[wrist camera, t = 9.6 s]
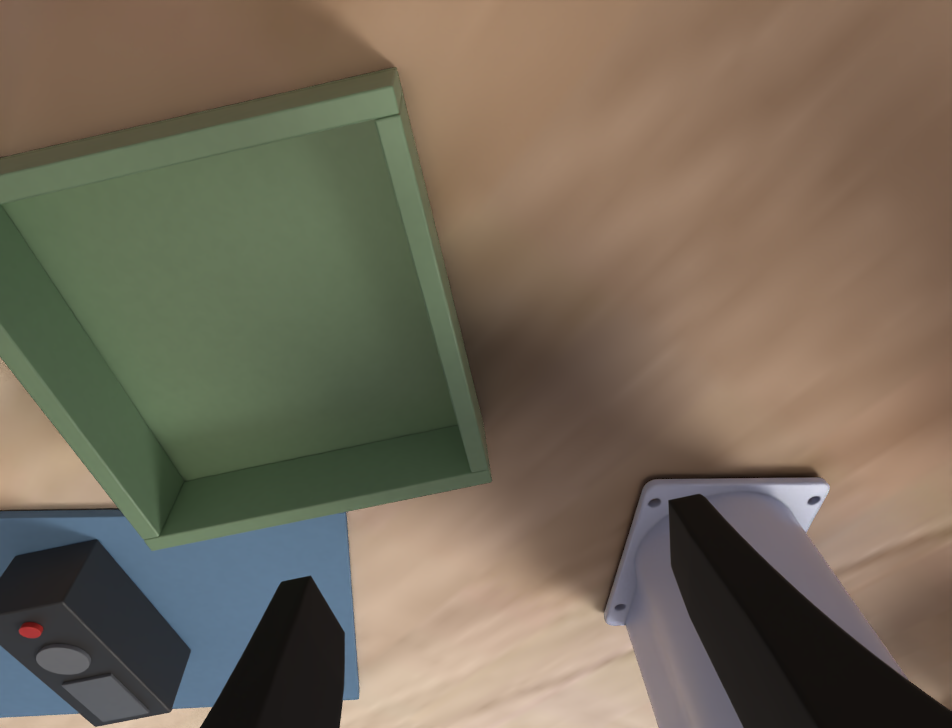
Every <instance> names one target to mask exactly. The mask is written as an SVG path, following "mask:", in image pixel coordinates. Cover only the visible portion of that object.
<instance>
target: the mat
mask: <svg viewBox="0 0 952 728" xmlns="http://www.w3.org/2000/svg"><path fill="white" fill-rule="evenodd" d="M91 540H98V541H99V542H100V543H101V544H102V545H103V547H104V548H105V549H106V550H107V551H108V553H109V554H110V555H111V556H112V557H113V558H114V560H115V561H116V562H117V563H118V564H119V566H120V567H121V568H122V569H123V570H124V571H125V573H126V574H127V575H128V576H129V577H130V578H131V580H132V581H133V582H134V583H135V584H136V586H137V587H138V588H139V589H140V590H141V591H142V593H143V594H144V595H145V596H146V597H147V599H148V600H149V601H150V602H151V603H152V604H153V606H154V607H155V608H156V609H157V610H158V612H159V613H160V614H161V615H162V616H163V617H164V619H165V620H166V621H167V622H168V623H169V625H170V626H171V627H172V628H173V629H174V630H175V632H176V633H177V634H178V635H179V636H180V638H181V639H182V640H183V641H184V642H185V643H186V645H187V646H188V647H189V648H190V649H191V653H190V656H189V659H188V662H187V665H186V668H185V671H184V674H183V677H182V680H181V683H180V686H179V689H178V692H177V695H176V698H175V701H174V704H173V707H172V709H179V708H199V707H213V706H214V704H215V702H216V700H217V699H218V697H219V695H220V693H221V692H222V690H223V688H224V686H225V684H226V683H227V681H228V679H229V677H230V676H231V674H232V672H233V670H234V668H235V667H236V665H237V663H238V661H239V659H240V658H241V656H242V654H243V652H244V650H245V648H246V647H247V645H248V643H249V641H250V639H251V637H252V635H253V633H254V632H255V630H256V628H257V626H258V624H259V622H260V620H261V618H262V616H263V614H264V613H265V611H266V609H267V607H268V605H269V603H270V601H271V599H272V597H273V595H274V594H275V592H276V590H277V588H278V586H279V585H280V583H281V582H282V581H287V580H291V579H296V578H301V577H306V576H310V575H311V577H312V578H313V580H314V582H315V583H316V585H317V587H318V588H319V590H320V592H321V593H322V595H323V597H324V598H325V600H326V602H327V604H328V605H329V607H330V609H331V610H332V612H333V614H334V615H335V617H336V619H337V620H338V622H339V624H340V625H341V627H342V629H343V630H344V632H345V677H344V694H343V700H357V699H359V681H358V667H357V653H356V639H355V626H354V612H353V598H352V585H351V571H350V557H349V543H348V530H347V516H346V512H343V513H338V514H333V515H328V516H323V517H318V518H313V519H308V520H303V521H298V522H293V523H288V524H283V525H278V526H274V527H269V528H264V529H259V530H254V531H249V532H244V533H239V534H234V535H229V536H224V537H219V538H214V539H210V540H205V541H200V542H195V543H190V544H185V545H180V546H175V547H170V548H165V549H160V550H155V551H151V549H150V548H149V547H148V546H147V544H146V543H145V542H144V539H142V538H141V536H140V535H139V534H138V533H137V531H136V530H135V529H134V527H133V526H132V525H131V524H130V522H129V521H128V520H127V519H126V517H125V516H124V515H123V513H122V512H121V511H120V510H119V509H114V510H48V511H0V577H1V576H2V574H3V573H4V571H5V570H6V568H7V567H8V566H9V564H10V563H11V561H12V560H13V558H14V557H15V556H18V555H23V554H28V553H32V552H37V551H42V550H47V549H52V548H57V547H62V546H67V545H72V544H76V543H81V542H86V541H91ZM61 714H80V713H78V712H77V711H76V710H75V709H74V708H73V707H71V706H70V705H69V704H68V703H67V702H66V701H64V700H63V699H62V698H61V697H60V696H59V695H57V694H56V693H55V692H54V691H53V690H52V689H50V688H49V687H48V686H47V685H46V684H45V683H43V682H42V681H41V680H40V679H39V678H38V677H36V676H35V675H34V674H33V673H32V672H31V671H29V670H28V669H27V668H26V667H25V666H24V665H22V664H21V663H20V662H19V661H18V660H16V659H15V658H14V657H13V656H12V655H11V654H9V653H8V652H7V651H6V650H5V649H4V648H2V647H1V646H0V718H1V717H21V716H41V715H61Z"/></svg>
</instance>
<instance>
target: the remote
mask: <svg viewBox="0 0 952 728" xmlns="http://www.w3.org/2000/svg"><path fill="white" fill-rule="evenodd" d="M0 646H1V647H2V648H4V649H5V650H6V651H7V652H8V653H9V654H11V655H12V656H13V657H14V658H15V659H16V660H18V661H19V662H20V663H21V664H22V665H24V666H25V667H26V668H27V669H28V670H29V671H31V672H32V673H33V674H34V675H35V676H36V677H38V678H39V679H40V680H41V681H42V682H43V683H45V684H46V685H47V686H48V687H49V688H50V689H52V690H53V691H54V692H55V693H56V694H57V695H59V696H60V697H61V698H62V699H63V700H64V701H66V702H67V703H68V704H69V705H70V706H71V707H73V708H74V709H75V710H76V711H77V712H78V713H80V714H81V715H82V716H83V717H84V718H85V719H87V720H88V721H89V722H90V723H91V724H93V725H94V726H96V727H97V726H102V725H107V724H112V723H118V722H123V721H128V720H133V719H138V718H144V717H149V716H154V715H159V714H164V713H169V712H171V710H172V707H173V704H174V701H175V698H176V695H177V692H178V689H179V686H180V683H181V680H182V677H183V674H184V671H185V668H186V665H187V662H188V659H189V656H190V653H191V649H190V648H189V647H188V646H187V645H186V643H185V642H184V641H183V640H182V639H181V638H180V636H179V635H178V634H177V633H176V632H175V630H174V629H173V628H172V627H171V626H170V625H169V623H168V622H167V621H166V620H165V619H164V617H163V616H162V615H161V614H160V613H159V612H158V610H157V609H156V608H155V607H154V606H153V604H152V603H151V602H150V601H149V600H148V599H147V597H146V596H145V595H144V594H143V593H142V591H141V590H140V589H139V588H138V587H137V586H136V584H135V583H134V582H133V581H132V580H131V578H130V577H129V576H128V575H127V574H126V573H125V571H124V570H123V569H122V568H121V567H120V566H119V564H118V563H117V562H116V561H115V560H114V558H113V557H112V556H111V555H110V554H109V553H108V551H107V550H106V549H105V548H104V547H103V545H102V544H101V543H100V542H99V541H98V540H91V541H86V542H81V543H76V544H72V545H67V546H62V547H57V548H52V549H47V550H42V551H37V552H32V553H28V554H23V555H18V556H15V557H14V558H13V560H12V561H11V563H10V564H9V566H8V567H7V568H6V570H5V571H4V573H3V574H2V576H1V577H0Z"/></svg>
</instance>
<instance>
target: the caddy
mask: <svg viewBox="0 0 952 728" xmlns="http://www.w3.org/2000/svg"><path fill="white" fill-rule="evenodd" d="M0 357H1V358H2V360H3V361H4V362H5V364H6V365H7V366H8V367H9V369H10V370H11V371H12V373H13V374H14V375H15V376H16V378H17V379H18V380H19V382H20V383H21V384H22V385H23V387H24V388H25V389H26V390H27V392H28V393H29V394H30V396H31V397H32V398H33V399H34V401H35V402H36V403H37V405H38V406H39V407H40V408H41V410H42V411H43V412H44V414H45V415H46V416H47V417H48V419H49V420H50V421H51V422H52V424H53V425H54V426H55V428H56V429H57V430H58V431H59V433H60V434H61V435H62V437H63V438H64V439H65V440H66V442H67V443H68V444H69V446H70V447H71V448H72V449H73V451H74V452H75V453H76V454H77V456H78V457H79V458H80V460H81V461H82V462H83V463H84V465H85V466H86V467H87V469H88V470H89V471H90V472H91V474H92V475H93V476H94V478H95V479H96V480H97V481H98V483H99V484H100V485H101V487H102V488H103V489H104V490H105V492H106V493H107V494H108V495H109V497H110V498H111V499H112V501H113V502H114V503H115V504H116V506H117V507H118V508H119V510H120V511H121V512H122V513H123V515H124V516H125V517H126V519H127V520H128V521H129V522H130V524H131V525H132V526H133V527H134V529H135V530H136V531H137V533H138V534H139V535H140V536H141V538H142V539H144V542H145V543H146V544H147V546H148V547H149V548H150V549H151V551H155V550H160V549H165V548H170V547H175V546H180V545H185V544H190V543H195V542H200V541H205V540H210V539H214V538H219V537H224V536H229V535H234V534H239V533H244V532H249V531H254V530H259V529H264V528H269V527H274V526H278V525H283V524H288V523H293V522H298V521H303V520H308V519H313V518H318V517H323V516H328V515H333V514H338V513H343V512H347V511H352V510H357V509H362V508H367V507H372V506H377V505H382V504H387V503H392V502H397V501H402V500H407V499H411V498H416V497H421V496H426V495H431V494H436V493H441V492H446V491H451V490H456V489H461V488H466V487H471V486H475V485H480V484H485V483H490V482H492V477H491V470H490V464H489V457H488V450H487V444H486V437H485V431H484V424H483V420H482V416H481V412H480V408H479V404H478V400H477V395H476V391H475V387H474V383H473V379H472V375H471V371H470V367H469V363H468V359H467V354H466V350H465V346H464V342H463V338H462V334H461V330H460V326H459V322H458V318H457V313H456V309H455V305H454V301H453V297H452V293H451V289H450V285H449V281H448V276H447V272H446V268H445V264H444V260H443V256H442V252H441V248H440V244H439V240H438V235H437V231H436V227H435V223H434V219H433V215H432V211H431V207H430V203H429V199H428V194H427V190H426V186H425V182H424V178H423V174H422V170H421V166H420V162H419V158H418V153H417V149H416V145H415V141H414V137H413V133H412V129H411V125H410V121H409V116H408V112H407V108H406V104H405V100H404V96H403V92H402V88H401V84H400V80H399V75H398V71H397V68H396V67H393V68H389V69H385V70H380V71H376V72H372V73H367V74H363V75H359V76H354V77H350V78H346V79H341V80H337V81H333V82H328V83H324V84H320V85H315V86H311V87H306V88H302V89H298V90H293V91H289V92H285V93H280V94H276V95H272V96H267V97H263V98H259V99H254V100H250V101H246V102H241V103H237V104H233V105H228V106H224V107H220V108H215V109H211V110H206V111H202V112H198V113H193V114H189V115H185V116H180V117H176V118H172V119H167V120H163V121H159V122H154V123H150V124H146V125H141V126H137V127H133V128H128V129H124V130H120V131H115V132H111V133H106V134H102V135H98V136H93V137H89V138H85V139H80V140H76V141H72V142H67V143H63V144H59V145H54V146H50V147H46V148H41V149H37V150H33V151H28V152H24V153H19V154H15V155H11V156H6V157H2V158H0Z"/></svg>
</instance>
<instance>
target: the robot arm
mask: <svg viewBox="0 0 952 728" xmlns="http://www.w3.org/2000/svg"><path fill="white" fill-rule="evenodd" d="M829 489H830V487H829V484H828V483H827V482H826V481H825V480H824V479H823V478H819V477H808V478H717V479H655V480H651V481H649V482H648V483H646V484H645V485H644V487H643V490H642V493H641V496H640V499H639V502H638V506H637V509H636V512H635V515H634V519H633V522H632V525H631V528H630V532H629V535H628V538H627V541H626V544H625V548H624V551H623V554H622V557H621V561H620V564H619V567H618V570H617V574H616V577H615V580H614V583H613V586H612V590H611V593H610V596H609V599H608V603H607V606H606V609H605V612H604V618H605V621H606V623H607V624H609V625H613V626H618V625H626V627H627V631H628V634H629V637H630V640H631V643H632V646H633V649H634V652H635V655H636V658H637V662H638V665H639V668H640V671H641V674H642V677H643V680H644V683H645V686H646V690H647V693H648V696H649V699H650V702H651V705H652V708H653V711H654V714H655V717H656V721H657V724H658V727H659V728H952V711H950V710H949V709H947V708H946V707H945V706H943V705H942V704H940V703H939V702H937V701H936V700H935V699H933V698H932V697H931V696H929V695H928V694H926V693H925V692H924V691H922V690H921V689H920V688H918V687H917V686H915V685H914V684H913V683H911V682H910V681H909V680H908V678H907V677H906V675H905V674H904V672H903V671H902V670H901V668H900V667H899V665H898V664H897V662H896V661H895V660H894V658H893V657H892V655H891V654H890V652H889V651H888V650H887V648H886V647H885V645H884V644H883V642H882V641H881V640H880V638H879V637H878V635H877V634H876V632H875V631H874V630H873V628H872V627H871V625H870V624H869V622H868V621H867V620H866V618H865V617H864V615H863V614H862V612H861V611H860V610H859V608H858V607H857V605H856V604H855V602H854V601H853V600H852V598H851V597H850V595H849V594H848V592H847V591H846V590H845V588H844V587H843V585H842V584H841V582H840V581H839V579H838V578H837V577H836V575H835V574H834V572H833V571H832V569H831V568H830V567H829V565H828V564H827V562H826V561H825V559H824V558H823V557H822V555H821V554H820V552H819V551H818V549H817V548H816V547H815V545H814V544H813V542H812V541H811V539H810V538H809V537H808V535H807V534H806V532H807V530H808V528H809V527H810V525H811V523H812V521H813V519H814V517H815V516H816V514H817V512H818V510H819V508H820V507H821V505H822V503H823V501H824V499H825V497H826V496H827V494H828V492H829ZM652 499H654V500H652ZM344 677H345V632H344V630H343V629H342V627H341V625H340V624H339V622H338V620H337V619H336V617H335V615H334V614H333V612H332V610H331V609H330V607H329V605H328V604H327V602H326V600H325V598H324V597H323V595H322V593H321V592H320V590H319V588H318V587H317V585H316V583H315V582H314V580H313V578H312V577H311V575H310V576H306V577H301V578H296V579H291V580H287V581H282V582H281V583H280V585H279V586H278V588H277V590H276V592H275V594H274V595H273V597H272V599H271V601H270V603H269V605H268V607H267V609H266V611H265V613H264V614H263V616H262V618H261V620H260V622H259V624H258V626H257V628H256V630H255V632H254V633H253V635H252V637H251V639H250V641H249V643H248V645H247V647H246V648H245V650H244V652H243V654H242V656H241V658H240V659H239V661H238V663H237V665H236V667H235V668H234V670H233V672H232V674H231V676H230V677H229V679H228V681H227V683H226V684H225V686H224V688H223V690H222V692H221V693H220V695H219V697H218V699H217V700H216V702H215V704H214V706H213V707H212V709H211V711H210V712H209V714H208V715H207V717H206V719H205V720H204V722H203V724H202V725H201V727H200V728H339V727H340V719H341V711H342V702H343V694H344Z"/></svg>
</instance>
